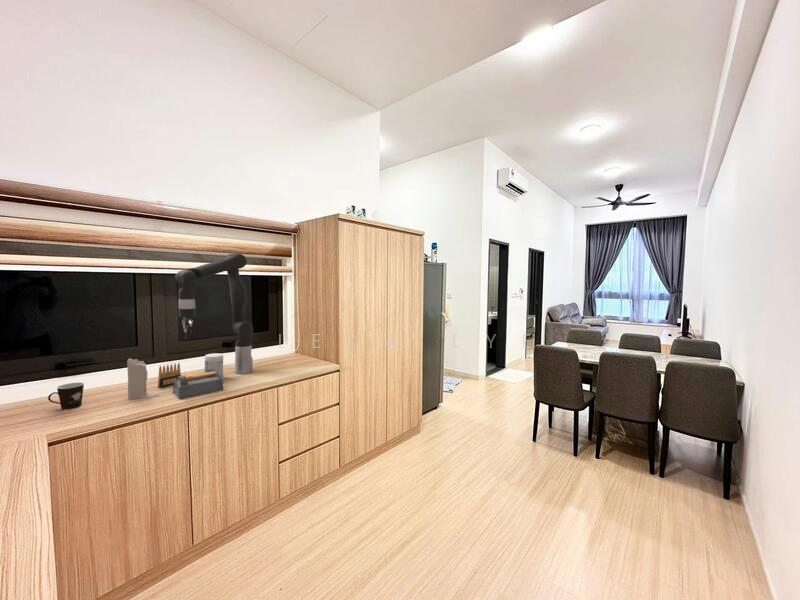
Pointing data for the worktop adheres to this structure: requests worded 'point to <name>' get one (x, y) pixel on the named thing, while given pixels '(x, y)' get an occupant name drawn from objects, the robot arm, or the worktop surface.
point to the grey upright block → (138, 380)
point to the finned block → (197, 385)
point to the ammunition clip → (168, 375)
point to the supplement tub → (214, 363)
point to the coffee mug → (69, 395)
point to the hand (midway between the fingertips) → (188, 339)
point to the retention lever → (199, 375)
